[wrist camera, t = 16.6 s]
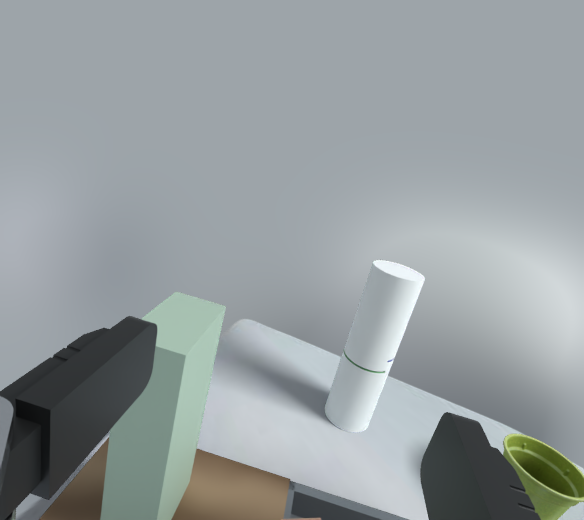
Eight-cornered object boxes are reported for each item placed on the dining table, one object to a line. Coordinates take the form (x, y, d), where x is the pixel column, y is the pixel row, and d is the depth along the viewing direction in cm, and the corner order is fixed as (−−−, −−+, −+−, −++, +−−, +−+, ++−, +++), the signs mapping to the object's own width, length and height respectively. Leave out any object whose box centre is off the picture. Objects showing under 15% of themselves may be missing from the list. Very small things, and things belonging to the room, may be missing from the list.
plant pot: (475, 468, 52) (499, 422, 50) (547, 504, 49) (577, 456, 47) (480, 523, 44) (510, 470, 41) (567, 570, 41) (605, 516, 38)
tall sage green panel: (148, 468, 33) (175, 291, 27) (189, 482, 32) (225, 306, 27) (97, 548, 26) (120, 335, 20) (148, 566, 26) (185, 355, 20)
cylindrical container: (377, 421, 57) (433, 278, 49) (350, 439, 52) (409, 283, 44) (342, 393, 61) (389, 259, 54) (315, 407, 56) (363, 261, 49)
